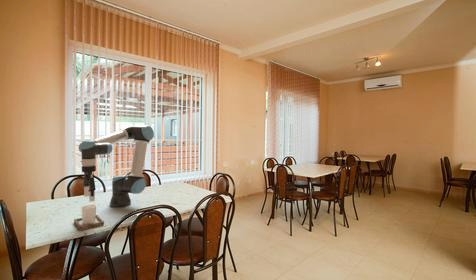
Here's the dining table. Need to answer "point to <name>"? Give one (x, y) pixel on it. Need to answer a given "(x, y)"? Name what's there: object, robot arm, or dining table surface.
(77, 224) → the walnut tray
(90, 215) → the pale pink cup
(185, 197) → the dining table surface
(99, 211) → the dining table surface
